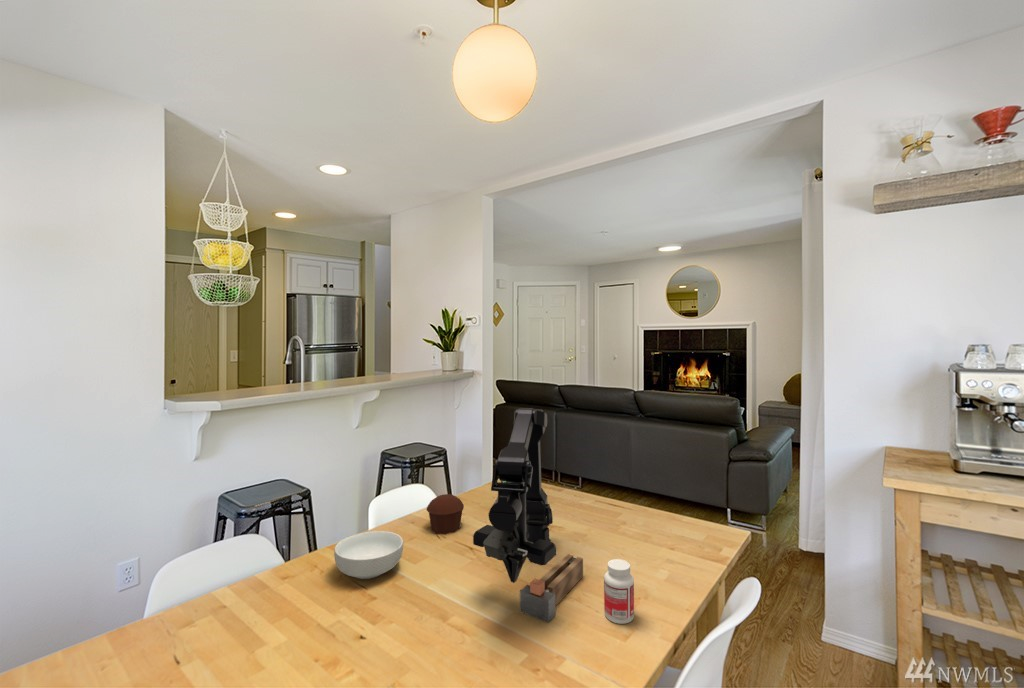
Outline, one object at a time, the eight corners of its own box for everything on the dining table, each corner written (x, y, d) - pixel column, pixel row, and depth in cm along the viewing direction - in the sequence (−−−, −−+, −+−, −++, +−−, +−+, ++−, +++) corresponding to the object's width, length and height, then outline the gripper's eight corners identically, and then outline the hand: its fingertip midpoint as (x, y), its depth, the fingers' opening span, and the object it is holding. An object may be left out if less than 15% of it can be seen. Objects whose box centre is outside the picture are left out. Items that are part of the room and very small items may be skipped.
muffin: (449, 518, 150) (449, 487, 149) (471, 527, 142) (471, 495, 142) (419, 529, 141) (418, 497, 141) (440, 539, 133) (440, 506, 133)
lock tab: (530, 592, 97) (530, 582, 97) (535, 588, 99) (534, 578, 99) (540, 596, 96) (540, 585, 96) (544, 591, 98) (544, 581, 98)
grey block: (520, 611, 98) (519, 590, 98) (528, 603, 101) (528, 583, 101) (548, 622, 94) (548, 600, 94) (556, 613, 97) (556, 592, 97)
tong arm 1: (544, 605, 100) (543, 585, 100) (536, 602, 101) (536, 582, 101) (575, 573, 113) (575, 556, 113) (568, 571, 114) (568, 553, 114)
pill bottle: (621, 604, 100) (621, 554, 100) (640, 620, 95) (640, 567, 95) (598, 612, 98) (598, 561, 98) (616, 628, 92) (616, 574, 92)
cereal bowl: (416, 570, 116) (416, 542, 116) (355, 597, 104) (355, 567, 104) (381, 549, 128) (380, 524, 128) (322, 572, 116) (322, 544, 115)
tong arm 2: (552, 608, 99) (552, 588, 99) (544, 606, 100) (544, 585, 100) (583, 576, 112) (582, 558, 112) (575, 573, 113) (575, 556, 113)
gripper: (457, 515, 99) (457, 586, 99) (530, 535, 89) (531, 614, 89) (487, 499, 108) (487, 564, 108) (557, 516, 98) (557, 587, 98)
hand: (513, 581), depth 101 cm, fingers closed
